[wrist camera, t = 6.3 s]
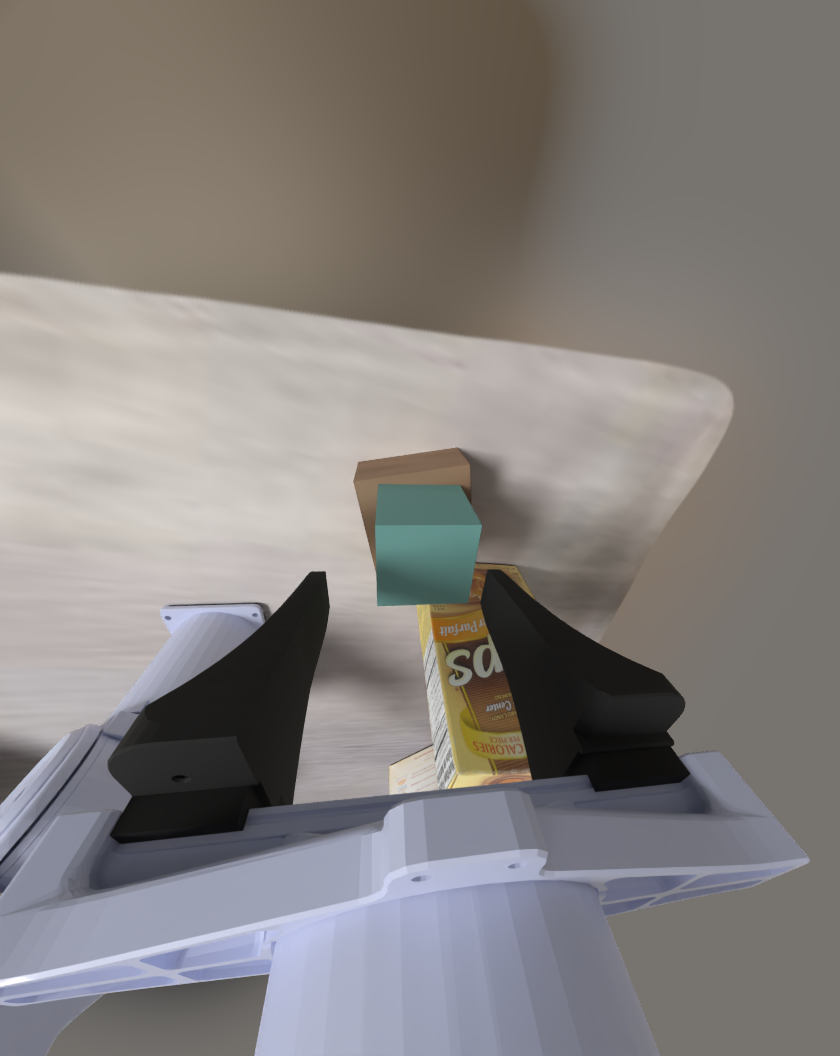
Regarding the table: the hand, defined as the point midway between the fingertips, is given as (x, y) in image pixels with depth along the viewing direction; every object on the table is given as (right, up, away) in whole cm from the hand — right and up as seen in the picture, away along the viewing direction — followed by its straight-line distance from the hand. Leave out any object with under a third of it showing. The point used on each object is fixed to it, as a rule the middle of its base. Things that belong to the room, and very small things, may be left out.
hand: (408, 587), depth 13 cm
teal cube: (0, +3, +6) cm, 7 cm away
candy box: (+5, -2, +14) cm, 15 cm away
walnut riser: (0, +5, +10) cm, 11 cm away
